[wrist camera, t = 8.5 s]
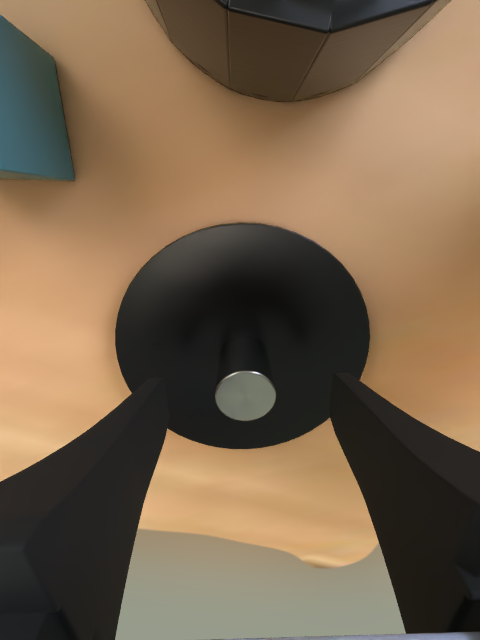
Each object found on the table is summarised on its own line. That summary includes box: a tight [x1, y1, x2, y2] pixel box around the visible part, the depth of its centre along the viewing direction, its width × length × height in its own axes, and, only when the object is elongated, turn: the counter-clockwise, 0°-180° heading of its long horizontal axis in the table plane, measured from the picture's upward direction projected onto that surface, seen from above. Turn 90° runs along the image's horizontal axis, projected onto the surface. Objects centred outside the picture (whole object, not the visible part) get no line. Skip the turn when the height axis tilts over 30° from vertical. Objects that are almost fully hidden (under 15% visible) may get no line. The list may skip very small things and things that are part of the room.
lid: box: [115, 222, 370, 449], centre depth 14 cm, size 14×14×5 cm
